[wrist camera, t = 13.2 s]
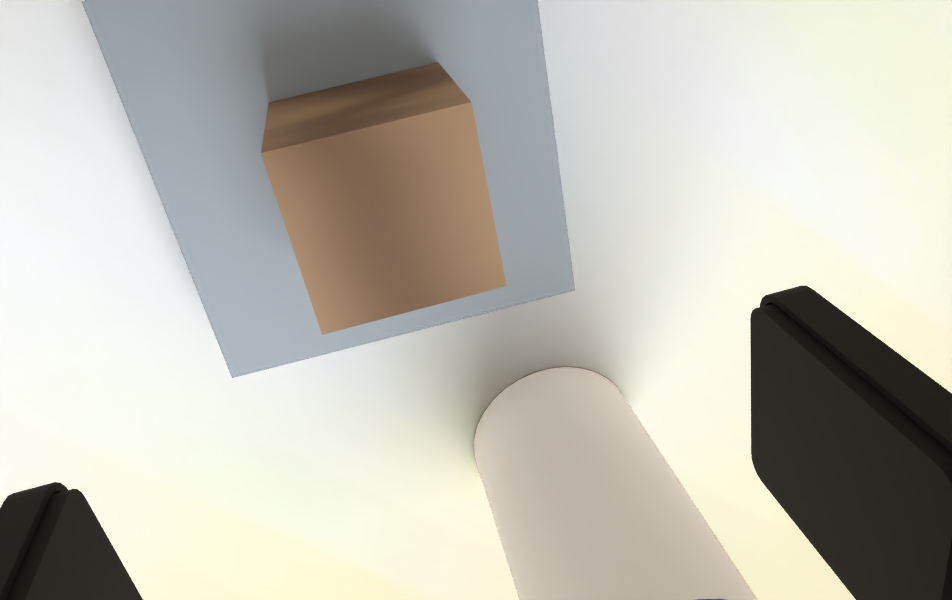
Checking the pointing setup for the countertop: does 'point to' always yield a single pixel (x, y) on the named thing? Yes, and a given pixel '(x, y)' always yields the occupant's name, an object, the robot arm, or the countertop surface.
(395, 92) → the walnut cube
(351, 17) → the grey base block
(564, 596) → the cylindrical container
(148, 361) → the countertop surface
